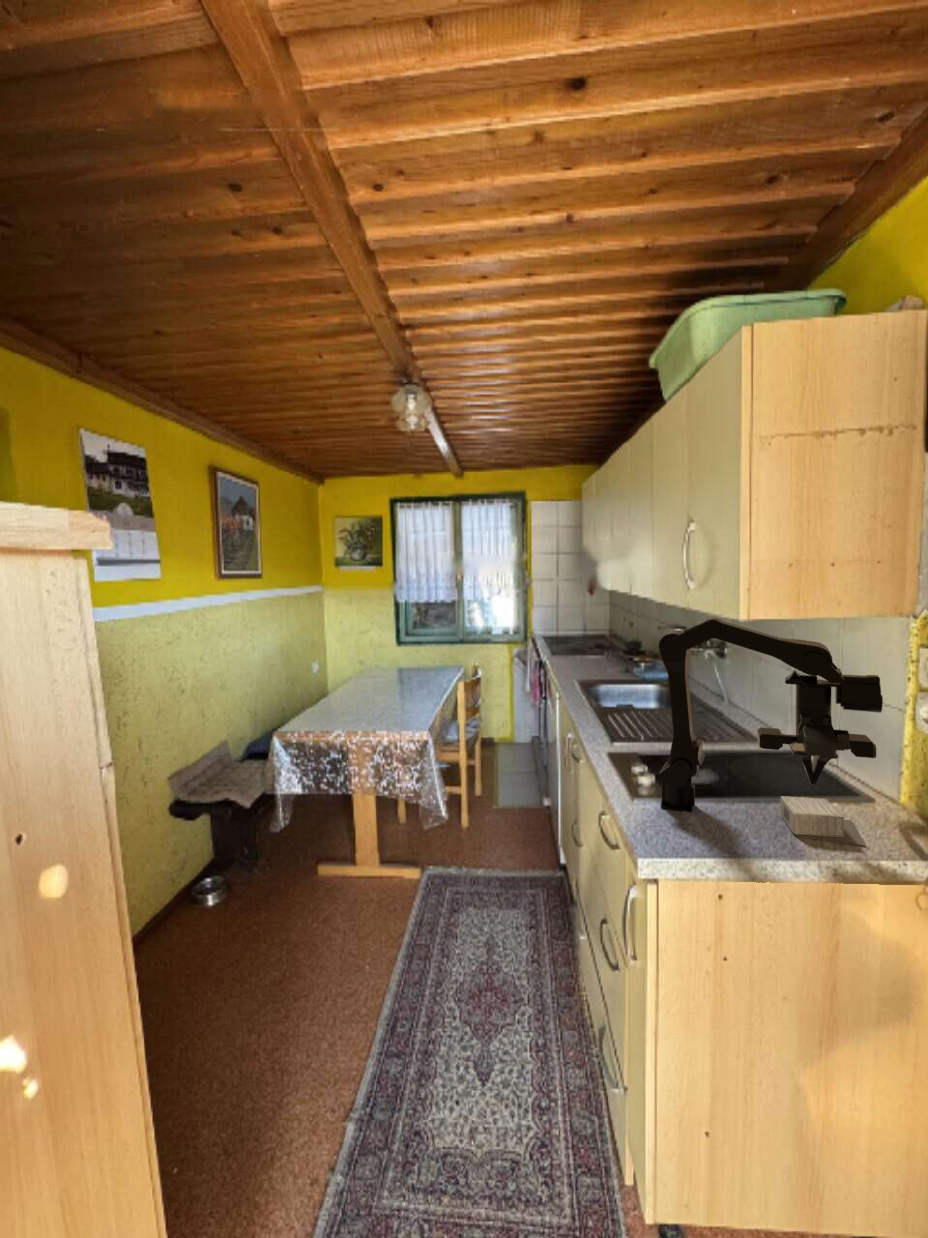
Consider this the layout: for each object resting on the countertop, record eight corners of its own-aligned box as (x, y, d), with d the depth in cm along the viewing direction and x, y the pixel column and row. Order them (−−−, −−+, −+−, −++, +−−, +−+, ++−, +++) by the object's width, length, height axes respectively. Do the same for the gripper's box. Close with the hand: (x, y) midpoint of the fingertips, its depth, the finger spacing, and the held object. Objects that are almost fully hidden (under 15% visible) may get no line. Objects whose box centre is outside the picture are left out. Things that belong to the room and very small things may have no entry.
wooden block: (793, 834, 99) (844, 839, 97) (793, 813, 99) (845, 817, 97) (779, 815, 107) (827, 819, 105) (780, 795, 106) (827, 798, 104)
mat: (796, 836, 99) (796, 835, 99) (788, 813, 108) (788, 812, 108) (865, 847, 94) (865, 845, 94) (851, 822, 103) (851, 820, 103)
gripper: (762, 715, 95) (762, 794, 97) (887, 722, 87) (885, 809, 89) (756, 700, 105) (756, 772, 107) (867, 705, 97) (866, 783, 99)
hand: (812, 783), depth 100 cm, fingers closed
